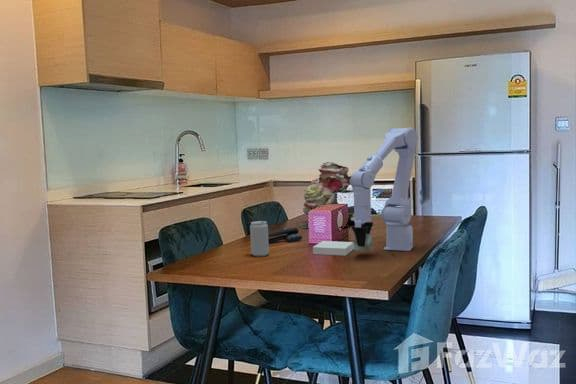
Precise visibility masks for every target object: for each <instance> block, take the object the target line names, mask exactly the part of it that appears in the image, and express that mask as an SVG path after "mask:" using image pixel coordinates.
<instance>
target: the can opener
mask: <svg viewBox="0 0 576 384" xmlns="http://www.w3.org/2000/svg"><path fill="white" fill-rule="evenodd" d="M302 239H303V235H301V234H300V233H299V229H298V227H288V228H285V227H284V228H283V229H278V230H273V231H272V232H271V231H270V232H268V241H269V244H273V243H277V242H279V241H283V240H284V241H286V242H289V243H295V242H296V241H297V242H298V241H301V240H302Z"/></svg>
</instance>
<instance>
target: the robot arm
mask: <svg viewBox="0 0 576 384" xmlns="http://www.w3.org/2000/svg"><path fill="white" fill-rule="evenodd" d="M418 138H419V136H418V134H417V132H416V129H414V128H413V127H405V128H404V127H403V128H402V127H400V128H398V127H397V128H394V127H392V128H389V129H388V130H387V131H386V133H385V134H384V141H383V142H382V143H381V145H379V148H378V150H377V151H376V152H375V154H373V155H370V156H367V157H366V160H365V161H364V163H363V164H362V165H361V166H360V168H359V169H358V170H356V171H354V172H353V173H352V174H351V175H350V176H351V179H350V186H351V190H352V191H353V192H352V193H353V213H354V214H353V217H352V218H351V221H354V222H355V224H354V225H352V226H351V229H352V231H353V233H354V236H356V240H357V244H358V246H361V247H364V246H365V240H366V234H371V230H372V228H373V226H374V222H373V221H372V220H373V219H372V209H371V208H372V207H371V205H372V203H371V202H372V201H371V199H372V198H371V196H372V195H371V194H372V193H371V188H372V186H374V183H375V178H376V176H377V174H378V173H379V172H380V170H381V169H382V168H383V166H384V162H383V161H384V160H385V159H386V158H387V157H388V155H389V154H391V152H392V151H395V152H396V153H398V161H397V166H396V171H395V177H394V180H393V181H394V182H393V187H392V193H391V196H390V197H389V198H388V199H387V200H385V202H384V205H383V208H382V210H381V220H383V222H384V225H385V226H386V227H385V228H386V229H385V233H386V235H385V237H386V242H385V243H386V244H385V246H384V247H383V250H384V251H405V252H409V251H411V250H412V249H413V247H414V241H413V240H414V239H413V238H414V235H413V234H414V233H413V232H414V230H413V229H414V228H413V225H410V224H409V223H410V221H411V219H412V210H411V209H412V205H411V203H410V202H409V201H408V199H407V196H408V192H409V187H410V181H411V175H412V171H413V165H414V161H415V157H416V148H417V144H418Z"/></svg>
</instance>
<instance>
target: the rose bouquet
mask: <svg viewBox="0 0 576 384" xmlns="http://www.w3.org/2000/svg"><path fill="white" fill-rule="evenodd" d="M319 167H320V168H319V169H318V172H319V173H320V174H319V175H318V178H315V179H312V180H311V182H310V183H309V184H308V186H307V188H306V189H304V195H303V198H304V200H305V202H304V203H303V207H304V208H303V209H302V210H303V213H304V214H305V215H307V216H308V212H309V211H310V210H312V209H315V208H317V207H320V206H322V205H326V204H338V205H339V202H338V193H339V194H349V193H354V192H353V191H352V189H351V190H350V189H348V188H349V186H351V184H350V179H351V175H350V176H349V174H348V173H349V167H347V166H343V165H339V164H338V163H335V162H334V161H332V162H331V161H330V162H329V161H326V162H323V163H322V164H320V165H319ZM347 215H348V222H349V223H348V225H349V224H352V225H355V222H354V221H351V218H354V212H350V213H348V214H347ZM308 223H309V222H304V223H300V224H299V225H300V228H301V227H306V228H307V229H308ZM349 227H351V225H349ZM349 227H348V228H349Z"/></svg>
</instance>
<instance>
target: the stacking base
mask: <svg viewBox="0 0 576 384" xmlns="http://www.w3.org/2000/svg"><path fill="white" fill-rule="evenodd" d="M353 250H354V241H333V240H332V241H330V240H322V241H321V242H319V243H317V244H315V245H314V246H312V254H313V255H325V256H326V255H327V256H328V255H329V256H347V255H348V254H349V253H351V252H352V251H353Z"/></svg>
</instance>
